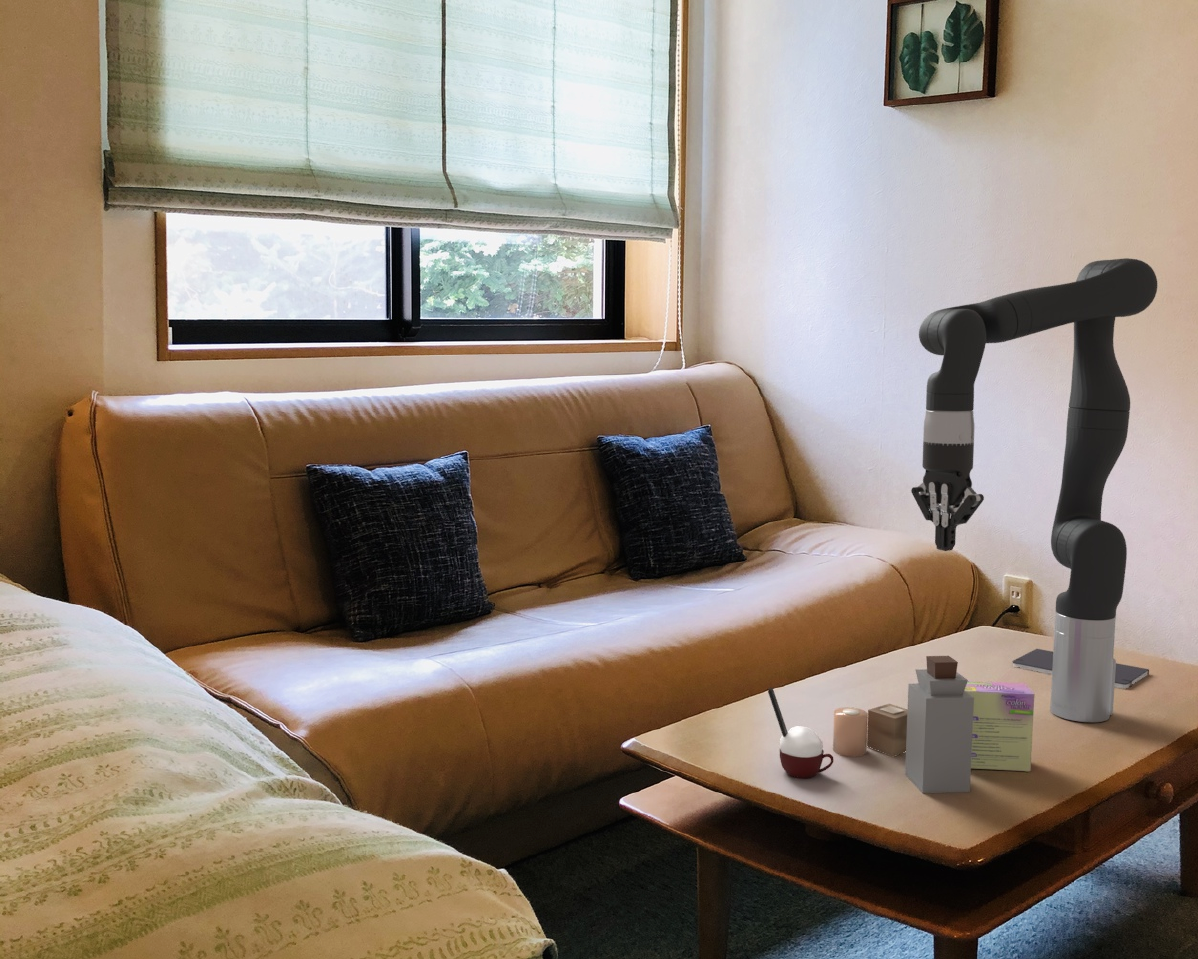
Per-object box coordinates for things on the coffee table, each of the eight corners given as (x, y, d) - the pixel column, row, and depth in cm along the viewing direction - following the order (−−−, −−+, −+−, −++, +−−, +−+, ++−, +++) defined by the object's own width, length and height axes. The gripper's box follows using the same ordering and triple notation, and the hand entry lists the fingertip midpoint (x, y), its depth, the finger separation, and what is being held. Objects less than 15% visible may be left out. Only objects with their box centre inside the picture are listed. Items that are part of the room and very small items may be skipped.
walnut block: (887, 740, 174) (889, 702, 174) (914, 750, 170) (915, 710, 170) (866, 747, 171) (868, 708, 171) (893, 757, 168) (894, 717, 167)
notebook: (1148, 677, 210) (1036, 656, 224) (1149, 669, 210) (1036, 648, 224) (1126, 692, 201) (1010, 669, 215) (1126, 684, 201) (1010, 661, 215)
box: (1020, 758, 167) (1024, 681, 166) (1031, 772, 162) (1035, 693, 160) (949, 755, 168) (952, 679, 167) (957, 769, 163) (961, 691, 161)
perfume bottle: (905, 774, 161) (909, 653, 158) (950, 773, 161) (955, 652, 159) (922, 793, 154) (927, 666, 152) (969, 791, 154) (975, 665, 152)
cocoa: (836, 777, 160) (844, 697, 159) (813, 789, 156) (821, 706, 154) (780, 758, 167) (787, 680, 165) (757, 768, 162) (763, 688, 160)
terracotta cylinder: (850, 742, 173) (851, 704, 173) (873, 753, 169) (874, 713, 168) (826, 748, 171) (827, 709, 170) (848, 759, 167) (849, 719, 166)
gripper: (1000, 441, 169) (995, 554, 171) (932, 435, 180) (929, 541, 182) (966, 444, 165) (961, 559, 167) (899, 437, 176) (896, 545, 178)
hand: (944, 549), depth 174 cm, fingers closed
